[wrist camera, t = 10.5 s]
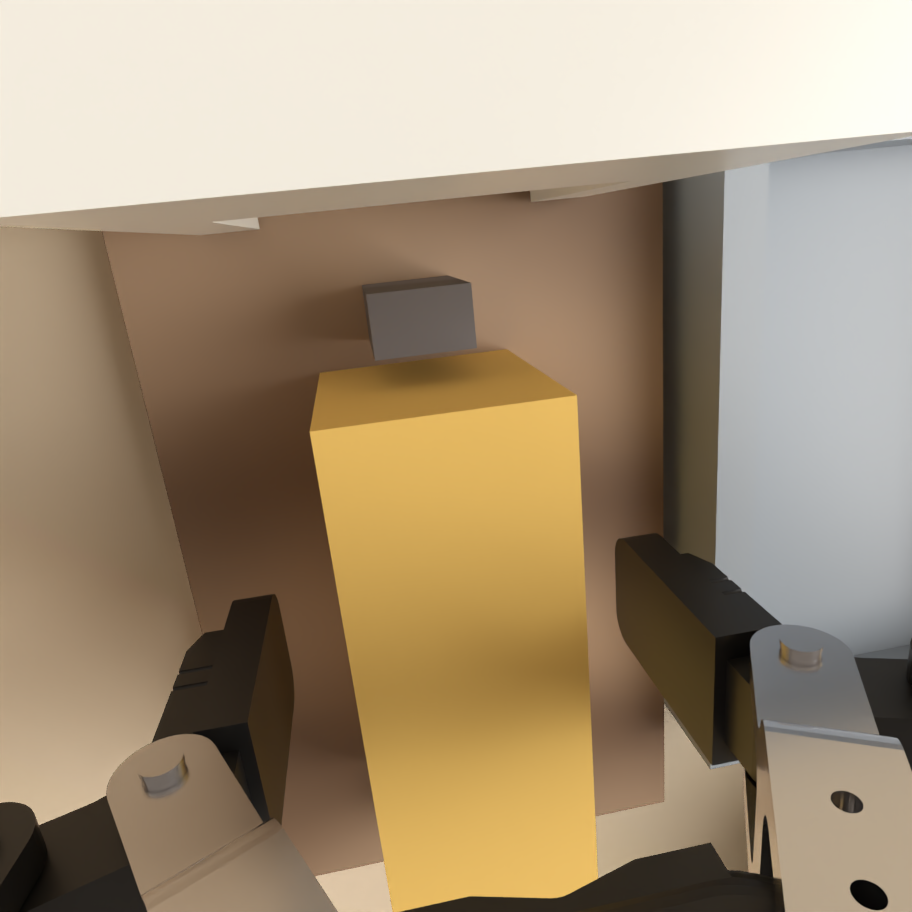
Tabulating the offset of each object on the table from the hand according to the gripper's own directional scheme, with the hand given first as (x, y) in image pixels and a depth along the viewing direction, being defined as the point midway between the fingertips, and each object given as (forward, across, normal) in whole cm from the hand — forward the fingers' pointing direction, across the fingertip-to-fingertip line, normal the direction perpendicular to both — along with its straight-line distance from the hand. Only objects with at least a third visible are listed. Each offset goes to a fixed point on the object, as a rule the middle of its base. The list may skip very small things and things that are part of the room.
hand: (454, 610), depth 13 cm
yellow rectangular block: (+2, 0, 0) cm, 2 cm away
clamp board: (+3, 0, -1) cm, 3 cm away
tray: (+3, -10, -2) cm, 10 cm away
